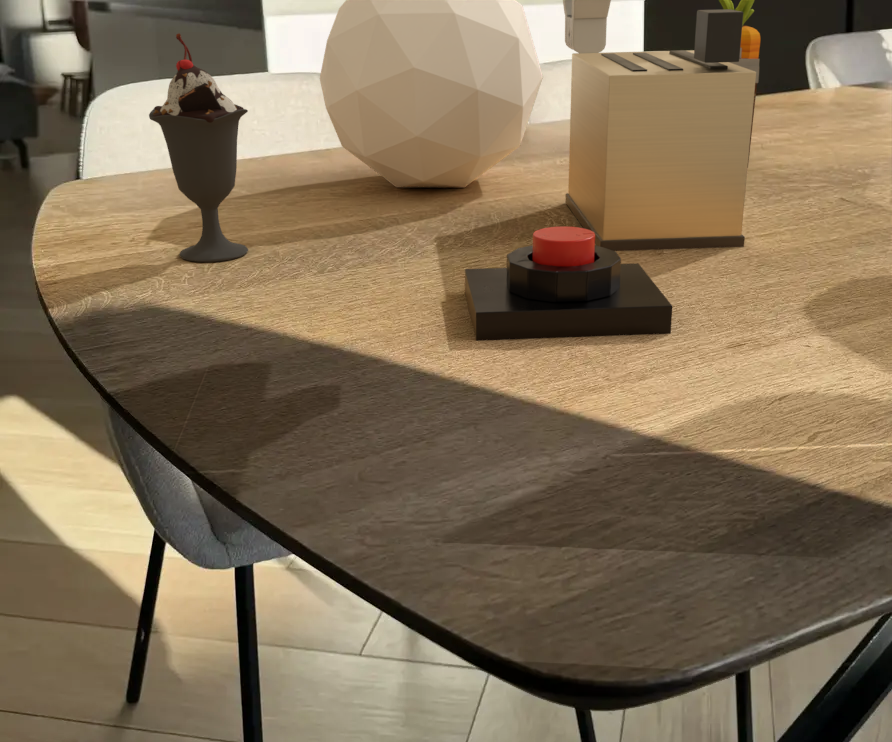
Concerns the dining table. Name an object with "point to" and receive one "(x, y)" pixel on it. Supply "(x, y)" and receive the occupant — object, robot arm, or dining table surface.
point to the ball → (430, 86)
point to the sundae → (202, 152)
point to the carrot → (746, 29)
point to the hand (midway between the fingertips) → (584, 51)
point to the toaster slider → (718, 35)
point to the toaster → (659, 149)
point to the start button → (563, 246)
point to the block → (564, 299)
